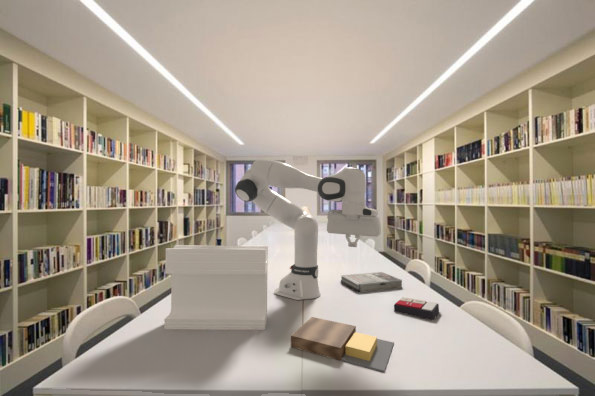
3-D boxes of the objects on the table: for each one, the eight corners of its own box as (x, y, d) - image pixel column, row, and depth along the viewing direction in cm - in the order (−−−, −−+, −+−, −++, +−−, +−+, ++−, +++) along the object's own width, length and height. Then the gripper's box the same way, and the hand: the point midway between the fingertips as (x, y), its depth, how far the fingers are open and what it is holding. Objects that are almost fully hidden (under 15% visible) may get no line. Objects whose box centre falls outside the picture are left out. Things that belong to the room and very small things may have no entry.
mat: (342, 360, 80) (342, 359, 80) (357, 335, 95) (357, 334, 95) (384, 372, 74) (384, 370, 74) (393, 343, 90) (393, 342, 90)
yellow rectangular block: (345, 354, 82) (345, 345, 82) (354, 339, 91) (354, 332, 91) (369, 361, 79) (369, 352, 79) (376, 345, 88) (377, 337, 88)
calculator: (401, 296, 126) (438, 301, 117) (402, 305, 125) (439, 312, 116) (393, 303, 117) (432, 309, 108) (394, 313, 117) (433, 321, 108)
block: (266, 320, 107) (267, 245, 107) (264, 329, 99) (265, 249, 99) (174, 319, 106) (175, 245, 107) (164, 329, 98) (165, 248, 99)
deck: (290, 346, 87) (290, 335, 87) (311, 326, 101) (311, 316, 101) (340, 360, 80) (340, 347, 80) (355, 336, 94) (355, 326, 94)
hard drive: (340, 283, 158) (340, 275, 158) (381, 279, 166) (381, 271, 167) (357, 293, 140) (357, 284, 140) (402, 288, 149) (402, 280, 149)
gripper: (324, 209, 109) (323, 245, 109) (378, 211, 100) (378, 250, 100) (330, 209, 115) (329, 243, 114) (382, 211, 105) (381, 248, 105)
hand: (352, 246), depth 107 cm, fingers closed
